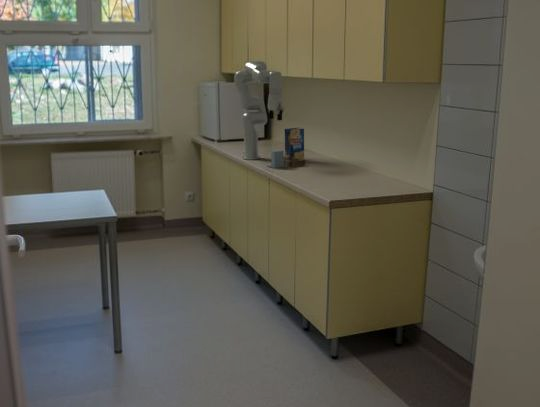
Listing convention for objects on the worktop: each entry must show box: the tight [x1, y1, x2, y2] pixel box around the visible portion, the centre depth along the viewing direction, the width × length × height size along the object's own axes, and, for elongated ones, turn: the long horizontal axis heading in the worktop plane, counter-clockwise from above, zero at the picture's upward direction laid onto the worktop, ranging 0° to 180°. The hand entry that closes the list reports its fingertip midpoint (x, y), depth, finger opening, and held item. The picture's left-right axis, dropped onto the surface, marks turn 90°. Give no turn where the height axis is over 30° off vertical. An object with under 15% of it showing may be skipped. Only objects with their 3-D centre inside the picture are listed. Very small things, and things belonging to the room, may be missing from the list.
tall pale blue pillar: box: [270, 149, 285, 169], centre depth 378 cm, size 4×7×10 cm, turn 123°
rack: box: [284, 157, 306, 168], centre depth 387 cm, size 16×11×4 cm
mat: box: [266, 164, 290, 170], centre depth 380 cm, size 12×8×1 cm
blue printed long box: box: [284, 127, 305, 160], centre depth 399 cm, size 7×11×22 cm, turn 123°
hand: (275, 119), depth 377 cm, fingers open, 9 cm apart
